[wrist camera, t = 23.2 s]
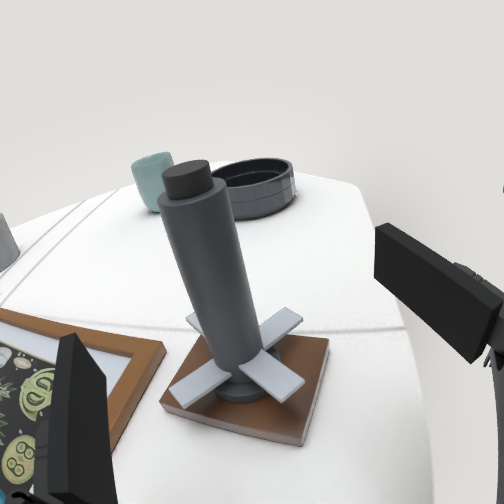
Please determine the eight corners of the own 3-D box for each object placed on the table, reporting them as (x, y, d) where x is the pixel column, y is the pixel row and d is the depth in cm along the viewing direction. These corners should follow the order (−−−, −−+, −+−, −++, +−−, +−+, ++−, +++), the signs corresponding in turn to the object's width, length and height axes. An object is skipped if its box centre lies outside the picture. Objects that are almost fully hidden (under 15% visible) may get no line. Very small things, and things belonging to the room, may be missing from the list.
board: (329, 350, 25) (329, 338, 25) (302, 446, 18) (301, 438, 18) (211, 334, 30) (207, 323, 29) (165, 411, 23) (158, 401, 22)
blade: (253, 305, 30) (214, 135, 22) (349, 365, 22) (346, 145, 14) (153, 372, 25) (65, 196, 16) (233, 466, 17) (113, 253, 9)
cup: (181, 210, 57) (166, 158, 52) (142, 220, 58) (125, 170, 52) (185, 195, 64) (173, 149, 59) (150, 204, 64) (136, 159, 59)
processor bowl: (304, 184, 58) (300, 155, 55) (283, 222, 46) (278, 186, 43) (230, 187, 63) (224, 161, 60) (195, 222, 52) (186, 191, 49)
